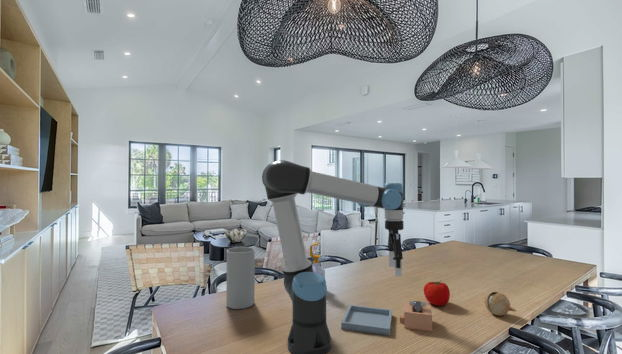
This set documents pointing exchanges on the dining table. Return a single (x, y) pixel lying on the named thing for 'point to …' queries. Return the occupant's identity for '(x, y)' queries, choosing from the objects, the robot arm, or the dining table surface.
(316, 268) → the soap bottle
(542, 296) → the dining table surface
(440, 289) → the tomato
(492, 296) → the onion
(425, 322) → the ring frame
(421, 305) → the grey t-shaped piece
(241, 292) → the cylinder vase
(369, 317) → the tray
